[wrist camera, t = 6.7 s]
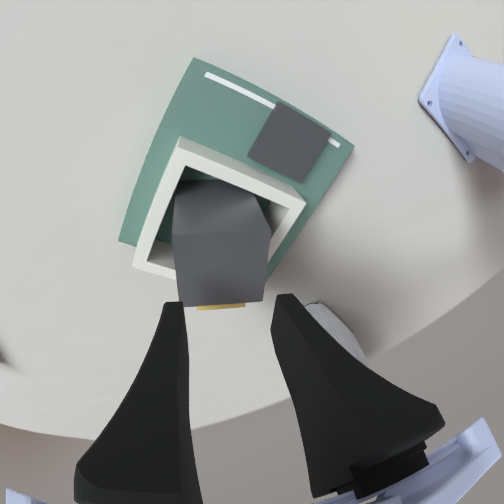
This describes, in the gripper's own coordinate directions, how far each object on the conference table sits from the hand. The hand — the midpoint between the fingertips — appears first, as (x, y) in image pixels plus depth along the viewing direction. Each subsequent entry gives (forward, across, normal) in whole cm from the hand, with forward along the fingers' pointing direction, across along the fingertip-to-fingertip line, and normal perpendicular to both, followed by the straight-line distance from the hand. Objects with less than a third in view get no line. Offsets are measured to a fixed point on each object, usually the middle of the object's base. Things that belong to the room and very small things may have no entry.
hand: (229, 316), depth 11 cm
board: (+9, -1, -2) cm, 10 cm away
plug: (+8, 0, 0) cm, 8 cm away
